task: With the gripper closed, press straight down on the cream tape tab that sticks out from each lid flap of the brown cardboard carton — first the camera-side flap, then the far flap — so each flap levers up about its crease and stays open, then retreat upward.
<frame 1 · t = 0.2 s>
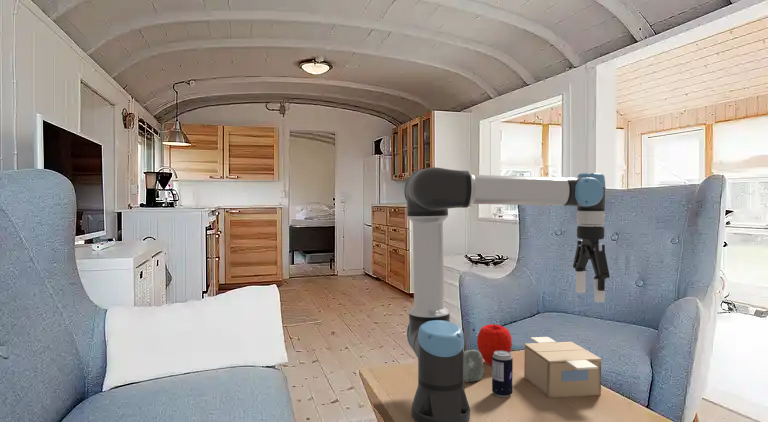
hand: (589, 297, 144), 27 cm above the table, fingers open, 13 cm apart
apple: (494, 364, 165), on the table
far flap: (549, 344, 153), point 10 cm above the table, hinge at 0.0°
carton: (560, 385, 146), on the table
near flap: (573, 359, 139), point 10 cm above the table, hinge at 0.0°
beverage can: (502, 395, 139), on the table
decorative stone: (466, 377, 154), on the table
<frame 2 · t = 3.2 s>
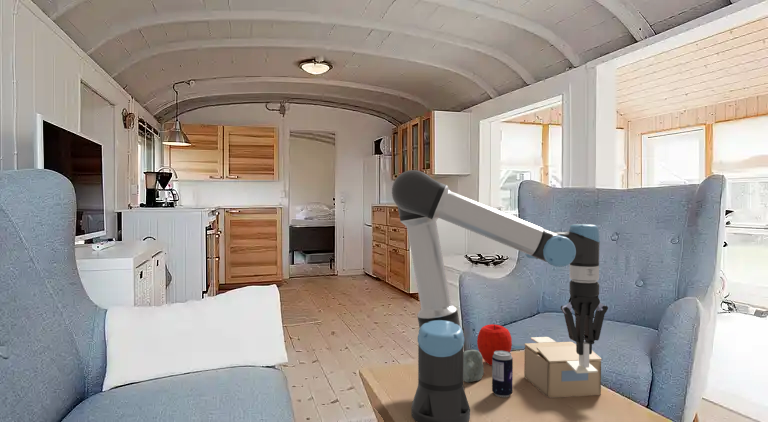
hand: (584, 365, 133), 10 cm above the table, fingers closed
near flap: (573, 358, 138), point 11 cm above the table, hinge at 10.2°, touching gripper
everything else where it was.
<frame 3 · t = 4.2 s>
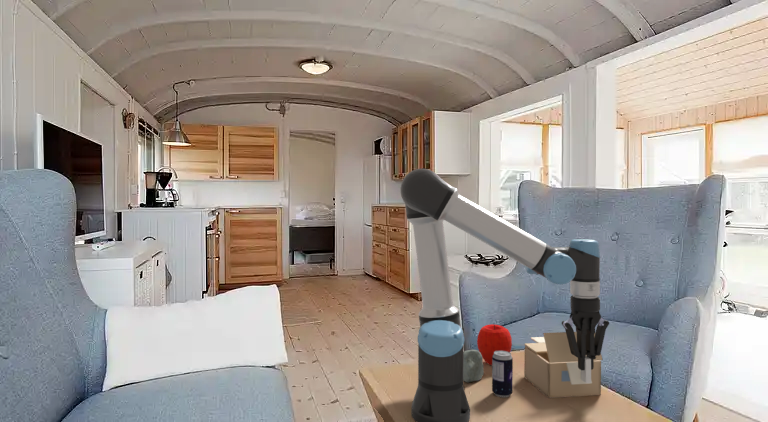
hand: (585, 381, 133), 6 cm above the table, fingers closed
near flap: (575, 357, 138), point 11 cm above the table, hinge at 61.1°, touching gripper
everything else where it was.
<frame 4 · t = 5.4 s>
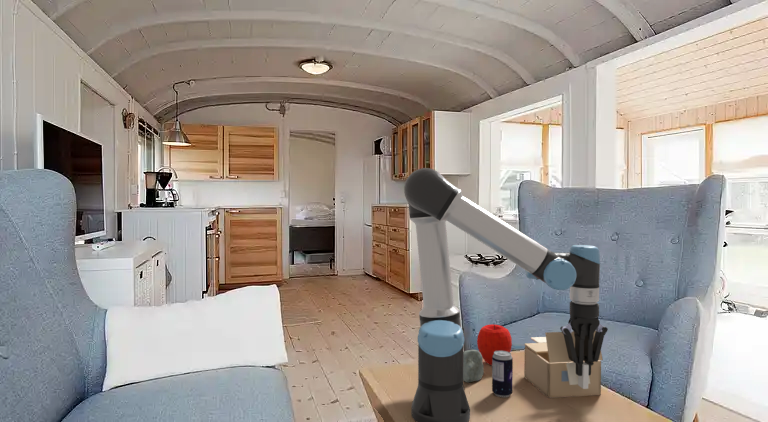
hand: (583, 386, 134), 5 cm above the table, fingers closed
near flap: (575, 357, 137), point 11 cm above the table, hinge at 70.1°
everything else where it was.
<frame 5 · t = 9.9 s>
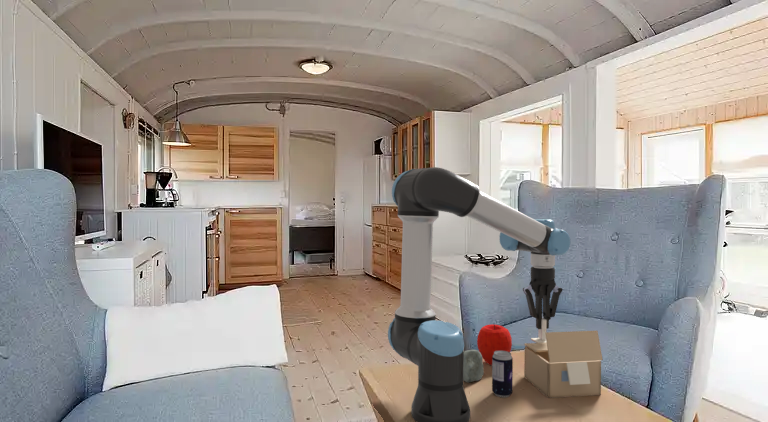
hand: (542, 338, 158), 11 cm above the table, fingers closed
far flap: (549, 344, 153), point 10 cm above the table, hinge at 2.5°, touching gripper
everything else where it was.
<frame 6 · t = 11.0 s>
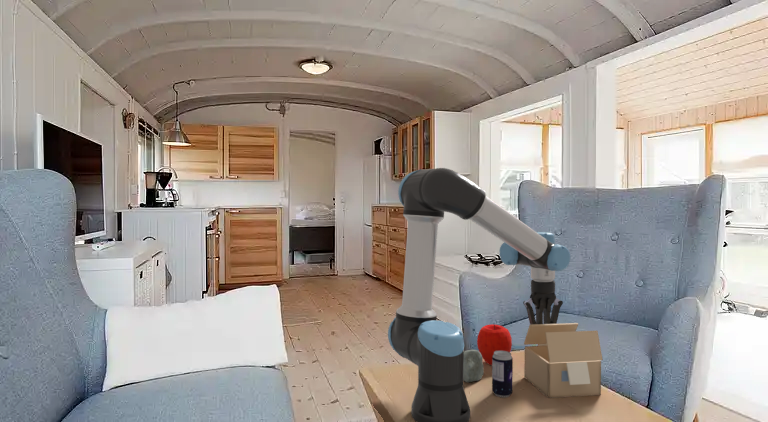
hand: (543, 351, 159), 6 cm above the table, fingers closed
far flap: (548, 340, 154), point 11 cm above the table, hinge at 59.7°, touching gripper
everything else where it was.
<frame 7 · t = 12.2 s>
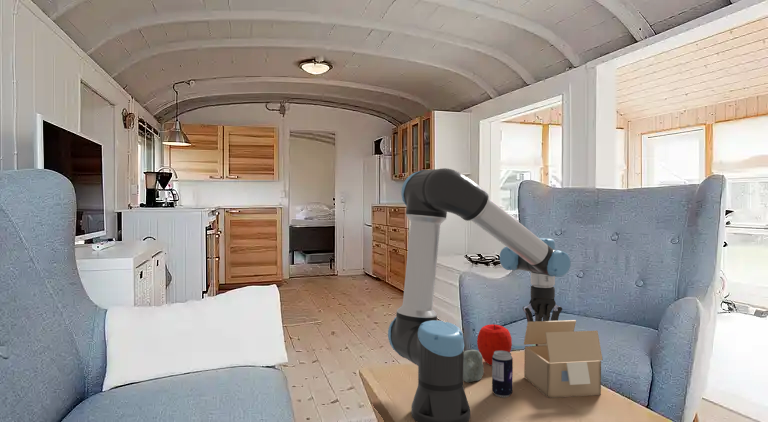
hand: (541, 357, 158), 4 cm above the table, fingers closed
far flap: (548, 340, 154), point 11 cm above the table, hinge at 70.1°, touching gripper
everything else where it was.
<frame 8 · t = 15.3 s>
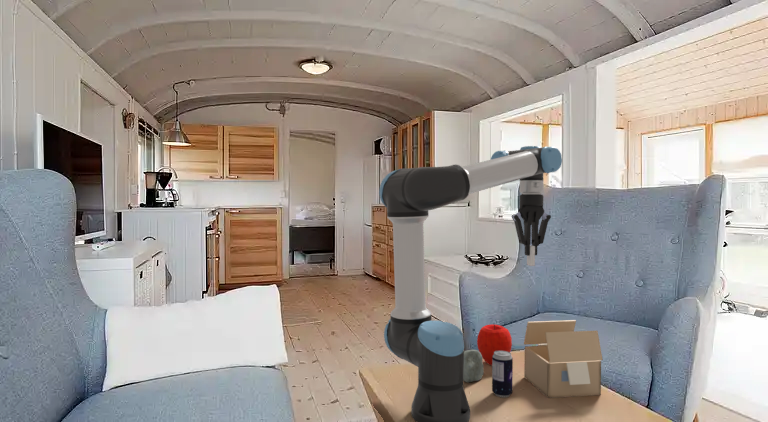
hand: (530, 265, 160), 34 cm above the table, fingers closed
far flap: (548, 340, 154), point 11 cm above the table, hinge at 70.1°
everything else where it was.
at the end: near flap at +70° (first picture: +0°); far flap at +70° (first picture: +0°) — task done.
